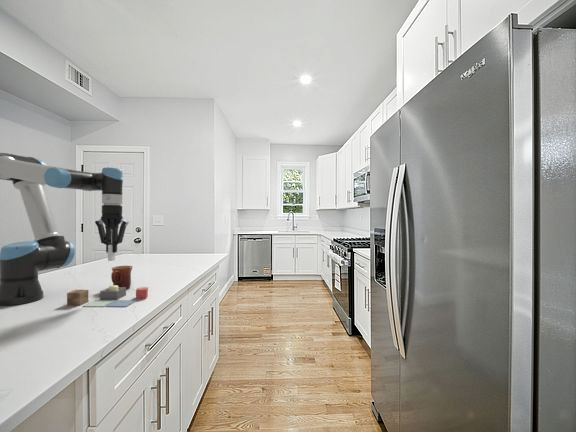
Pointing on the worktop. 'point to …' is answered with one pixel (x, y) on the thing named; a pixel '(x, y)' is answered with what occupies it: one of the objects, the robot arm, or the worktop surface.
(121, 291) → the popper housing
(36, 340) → the worktop surface
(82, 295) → the tan wooden cuboid
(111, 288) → the button
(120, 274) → the mug
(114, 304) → the tile
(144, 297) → the die
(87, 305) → the tile
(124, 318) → the worktop surface
